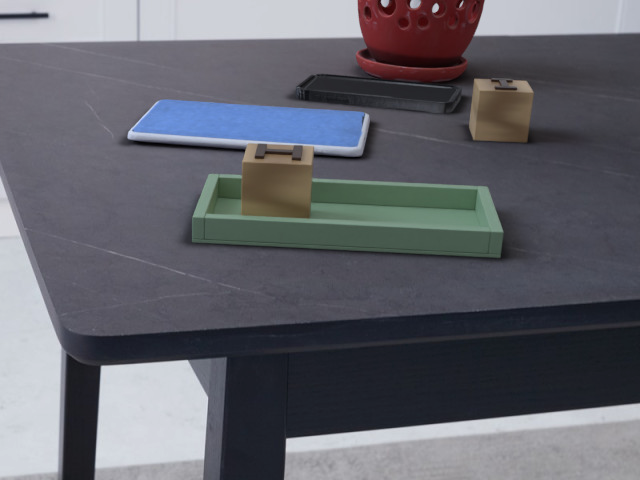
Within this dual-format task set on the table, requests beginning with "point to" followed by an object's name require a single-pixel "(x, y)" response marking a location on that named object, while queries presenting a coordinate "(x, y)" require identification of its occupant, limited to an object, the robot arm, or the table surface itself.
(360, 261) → the table surface
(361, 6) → the flower pot
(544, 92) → the table surface
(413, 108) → the dark grey shallow tray
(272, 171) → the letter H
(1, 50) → the table surface
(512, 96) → the wooden letter block
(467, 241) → the tray
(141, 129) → the tablet
